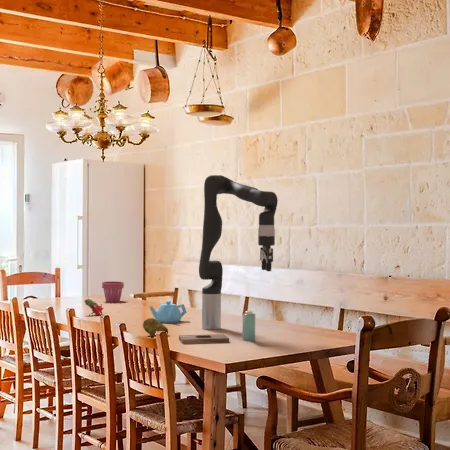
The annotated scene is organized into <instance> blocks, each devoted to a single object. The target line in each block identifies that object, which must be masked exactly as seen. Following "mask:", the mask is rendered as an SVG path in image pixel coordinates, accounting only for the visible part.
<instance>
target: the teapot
mask: <svg viewBox="0 0 450 450" xmlns="http://www.w3.org/2000/svg"><path fill="white" fill-rule="evenodd" d="M171 302H172V301H171V300H166V301H165V303H161V304H160V305H159V306H158V307H157V310H156V309H155V308H154V307H153V306H151V305H150V306H148V307H149V310H150V311H151V314H152V316H153V318H154V319H156V320H158V321H159V322H160V323H162V324H172V323H173V324H174V323H179V322H180V321H181V319H182V318H183V317H184V316H185V315H186V314H187V309H186V307H185V304H184V303H182V304H176V303H171ZM180 308H181V310H180Z"/></svg>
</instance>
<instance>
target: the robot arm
mask: <svg viewBox="0 0 450 450" xmlns="http://www.w3.org/2000/svg"><path fill="white" fill-rule="evenodd" d="M203 192H204V193H203V195H204V196H203V198H204V207H203V208H204V209H203V210H204V211H203V223H202V225H203V226H202V241H201V242H202V243H201V252H200V256H199V257H200V258H199V264H198V275H199V277H200V280H204V281H206V280H207V281H208V280H211V282H210V283H209V284H207V285H205V286H203V287H202V290H201V291H202V292H201V293H202V294H201V300H202V301H201V302H202V303H201V308H202V309H201V313H202V314H201V316H202V317H201V325H202V326H201V328H202V329H203V330H221V329H222V327H221V326H222V288H223V287H222V286H223V274H224V273H223V264H222V262H221V261H220V260H210V259H211V255H212V252H213V249H214V248H215V246H216V245H217V244H218V242H219V240H220V239H221V236H222V233H223V218H222V216H221V214H220V211H219V209H218V206H217V202H218V201H217V199H218V195H222V194H225V195H226V194H227V195H233V196H235V197H236V198H238V199H239V200H241V201H245V202H249V203H252V204H254V205H256V206H259V207H261V208H262V207H263V208H264V209H263V211H262V212H260V213H259V214H258V229H257V231H258V232H257V234H258V238H257V240H258V241H257V244H258V246H262V247H259V249H260V250H259V251H260V252H259V253H260V254H259V260H260V263H261V270H262V271H266V272H272V263H273V262H274V248H273V247H271V246H275V245H276V244H275V243H276V241H275V240H276V237H275V236H276V233H275V232H276V229H275V228H276V227H275V214H276V212H277V207H278V201H279V200H278V199H279V198H278V196H277V194H276V193H275V192H274V191H264V190H259V189H258V188H257V187H254V186H250V185H246V184H243V183H239V182H236V181H234V180H232V179H231V178H228V177H226V176H224V175H220V174H219V175H216V174H214V175H213V174H211V175H208V176H207V177H206V178H205V180H204V185H203Z"/></svg>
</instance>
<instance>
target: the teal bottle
mask: <svg viewBox="0 0 450 450" xmlns="http://www.w3.org/2000/svg"><path fill="white" fill-rule="evenodd" d="M244 312H245V313H242V325H241V327H242V328H241V329H242V335H241V336H242V341H247V342H248V341H249V342H251V343H255V342H256V313H254V311H253V310H245V311H244Z"/></svg>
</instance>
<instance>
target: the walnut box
mask: <svg viewBox="0 0 450 450" xmlns="http://www.w3.org/2000/svg"><path fill="white" fill-rule="evenodd" d="M178 340H179V341H180V343H181V344H182V345H192V344H194V345H197V344H224V343H230V337H228V336H227V335H226V334H224V333H220V334H219V333H217V334H216V333H215V334H210V333H209V334H182V335H181V334H179V335H178Z"/></svg>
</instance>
